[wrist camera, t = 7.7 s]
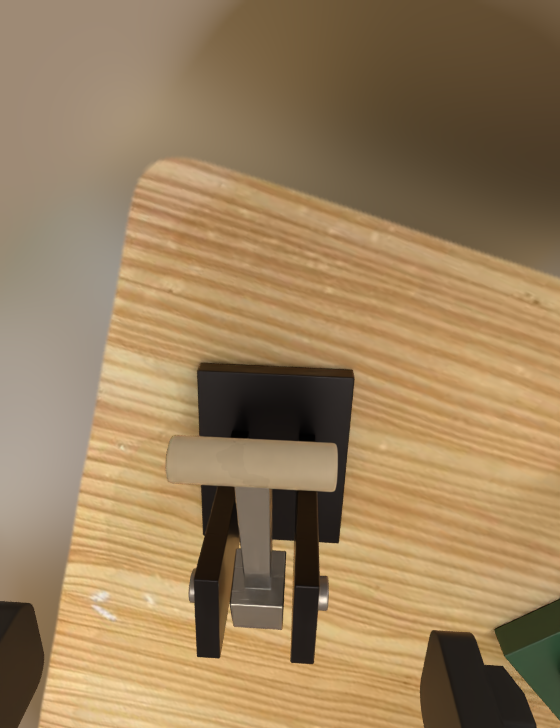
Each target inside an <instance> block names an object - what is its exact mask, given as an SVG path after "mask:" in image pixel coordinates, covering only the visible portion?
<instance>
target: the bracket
mask: <svg viewBox="0 0 560 728" xmlns="http://www.w3.org/2000/svg"><path fill="white" fill-rule="evenodd" d="M197 381H198V409H199V436H204V437H224V438H243V439H263V440H282V441H302V442H321V443H334V444H336V446H337V452H338V470H337V484H336V489H335V491H333V492H325V491H306V490H288V489H272V539H273V540H290V541H294V564H293V595H292V627H291V658H290V661H291V663H302V664H313V663H314V655H315V643H316V630H317V618H318V610H320V611H327V609H328V598H329V583H328V577H327V576H320V572H319V542H325V543H339V536H340V526H341V515H342V505H343V494H344V484H345V473H346V463H347V452H348V442H349V431H350V421H351V410H352V400H353V389H354V374H353V370H344V369H322V368H301V367H279V366H258V365H236V364H215V363H201V364H200V366H199V368H198V370H197ZM201 493H202V521H203V535H204V536H205V537H204V541H203V545H202V548H201V552H200V556H199V560H198V564H197V568H194V569H193V571H192V574H191V578H190V584H189V601H190V602H191V603H195V625H196V646H197V657H205V658H220V655H221V649H222V644H223V638H224V632H225V626H226V620H227V614H228V608H229V602H230V596H231V587H232V579H233V570H234V562H235V553H236V549H237V548H239V543H240V536H239V527H238V517H237V507H236V498H235V488H234V487H232V486H214V485H201Z"/></svg>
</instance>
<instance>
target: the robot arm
mask: <svg viewBox="0 0 560 728" xmlns="http://www.w3.org/2000/svg"><path fill="white" fill-rule="evenodd" d="M43 665H44V652H43V647H42V642H41V638H40V634H39V629H38V625H37V620H36V616H35V611H34V608H33V606H32V605H31V604H30V603H20V602H5V601H0V728H18V726H19V724H20V722H21V719H22V718H23V716H24V713H25V712H26V709H27V707H28V705H29V703H30V701H31V699H32V697H33V695H34V693H35V691H36V689H37V687H38V684H39V682H40V679H41V675H42V671H43ZM420 702H421V712H422V718H423V723H424V728H536V726H537V725H536V723H535V720H534V718H533V715H532V712H531V710H530V707H529V705H528V702H527V699H526V697H525V694H524V693H523V691H522V690H521V689H520V688H519V686H518V685H517V684H516V682H515V681H514V680H513V679H512V677H511V676H510V675H509V673H508V672H507V671H506V670H505V668H504V667H503V666H494V665H484V663H483V660H482V657H481V654H480V651H479V648H478V645H477V642H476V639H475V637H474V636H473V634H472V633H469V632H453V631H437V630H433V631H432V632H431V634H430V637H429V642H428V647H427V652H426V657H425V662H424V667H423V672H422V677H421V683H420Z"/></svg>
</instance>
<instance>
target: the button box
mask: <svg viewBox="0 0 560 728" xmlns="http://www.w3.org/2000/svg"><path fill="white" fill-rule="evenodd" d="M495 633H496V636H497V638H498V641H499V644H500V646H501V649H502V651H503V654H504V656H505V658H506V659H507V660H508V661H509V662H510V663H511V665H512V666H513V667H514V668H515V669H516V670H517V671H518V673H519V674H520V675H521V676H522V677H523V678H524V680H525V681H526V682H527V683H528V684H529V685H530V687H531V688H532V689H533V690H534V691H535V692H536V693H537V695H538V696H539V697H540V698H541V699H542V700H543V702H544V703H545V704H546V705H547V706H548V707H549V709H550V710H551V711H552V712H553V713H554V714H555V715H556V717H557V718H558V719H559V720H560V600H558V601H556V602H554V603H551V604H549V605H547V606H545V607H543V608H540V609H538V610H536V611H534V612H532V613H530V614H527V615H525V616H523V617H521V618H519V619H517V620H514V621H512V622H510V623H508V624H506V625H504V626H501V627H499V628H497V629H495Z"/></svg>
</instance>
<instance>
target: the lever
mask: <svg viewBox="0 0 560 728" xmlns="http://www.w3.org/2000/svg"><path fill="white" fill-rule="evenodd" d="M337 470H338V452H337V446H336V444H334V443H321V442H302V441H282V440H263V439H243V438H224V437H204V436H185V435H174V436H172V438H171V439H170V442H169V445H168V449H167V454H166V476H167V480H168V482H170V483H177V484H195V485H214V486H232V487H234V488H235V498H236V507H237V517H238V527H239V536H240V546H241V549H240V548H237V549H236V553H235V562H234V570H233V579H232V587H231V596H230V609H231V615H232V621H233V626H234V627H245V628H261V629H277V630H282V628H283V609H284V589H285V566H286V551H275V550H272V489H288V490H306V491H325V492H333V491H335V489H336V484H337Z"/></svg>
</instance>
